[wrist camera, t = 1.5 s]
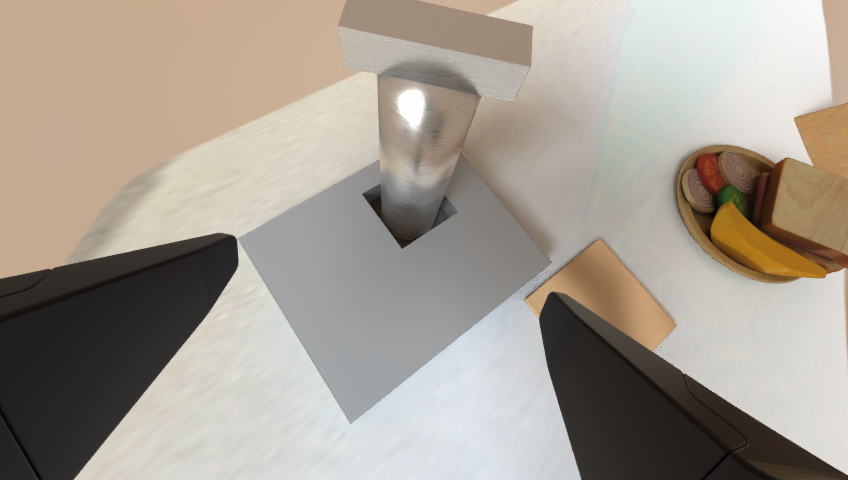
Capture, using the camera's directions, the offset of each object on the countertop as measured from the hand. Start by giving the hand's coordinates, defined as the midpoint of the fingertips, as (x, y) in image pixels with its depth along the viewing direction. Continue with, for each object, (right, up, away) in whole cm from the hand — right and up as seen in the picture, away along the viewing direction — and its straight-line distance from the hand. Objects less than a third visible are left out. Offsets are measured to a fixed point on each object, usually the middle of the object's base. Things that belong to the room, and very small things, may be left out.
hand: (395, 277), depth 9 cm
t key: (0, +3, +15) cm, 15 cm away
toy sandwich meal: (+28, +3, +19) cm, 34 cm away
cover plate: (-1, 0, +14) cm, 14 cm away
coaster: (+14, -4, +14) cm, 20 cm away
